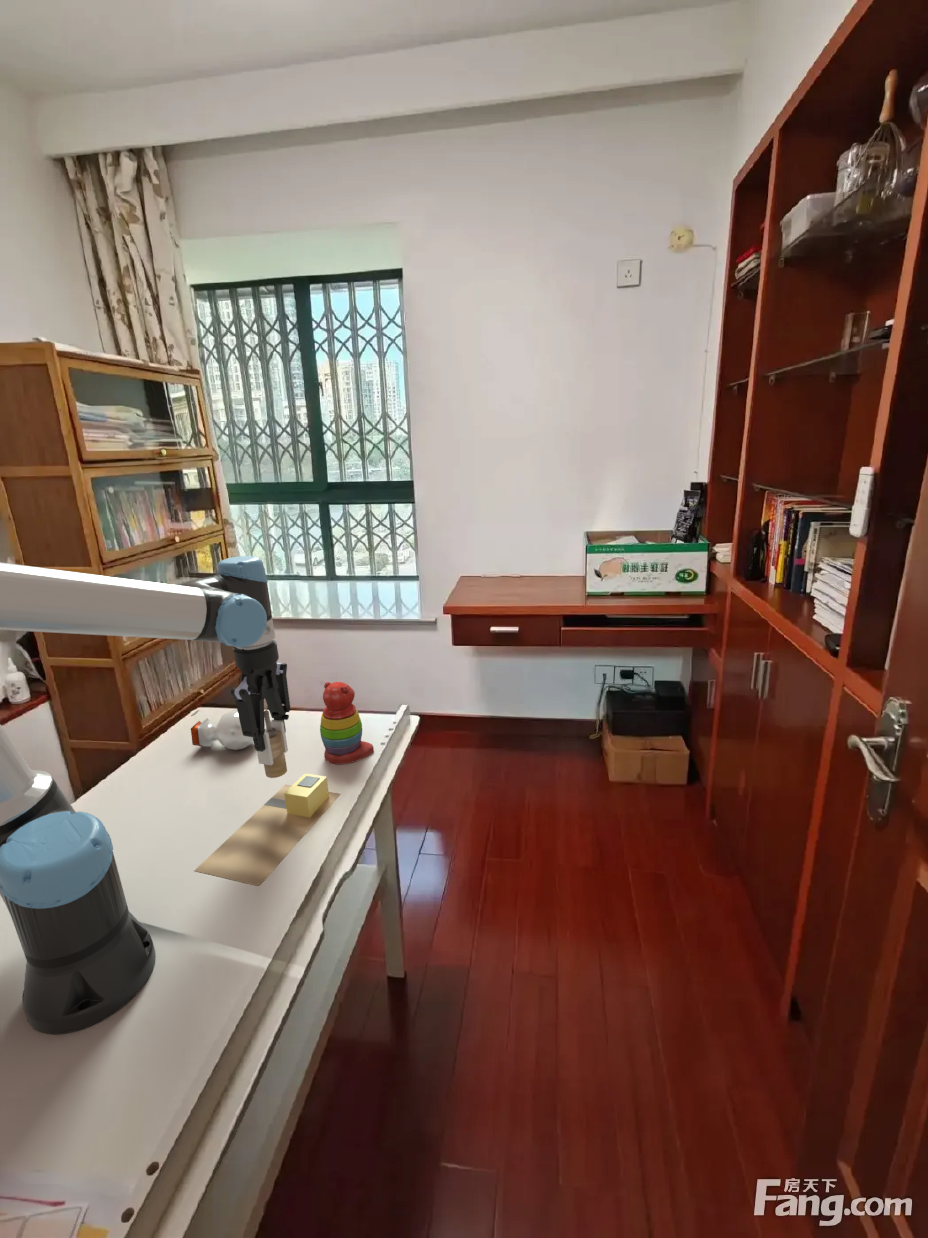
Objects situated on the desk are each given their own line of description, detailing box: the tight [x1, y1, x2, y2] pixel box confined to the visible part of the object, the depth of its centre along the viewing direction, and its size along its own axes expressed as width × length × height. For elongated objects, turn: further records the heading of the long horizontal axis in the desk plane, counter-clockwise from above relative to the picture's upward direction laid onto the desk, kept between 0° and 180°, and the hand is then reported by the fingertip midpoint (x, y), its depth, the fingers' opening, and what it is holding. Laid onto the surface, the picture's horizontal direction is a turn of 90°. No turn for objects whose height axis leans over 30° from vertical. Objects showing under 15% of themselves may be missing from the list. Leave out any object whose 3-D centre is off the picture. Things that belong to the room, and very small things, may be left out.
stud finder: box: [284, 773, 330, 818], centre depth 113 cm, size 7×5×5 cm
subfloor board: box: [194, 784, 341, 887], centre depth 107 cm, size 26×18×1 cm
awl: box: [263, 709, 288, 779], centre depth 110 cm, size 4×4×13 cm
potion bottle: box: [190, 709, 258, 751], centre depth 138 cm, size 9×10×15 cm
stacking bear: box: [319, 681, 375, 765], centre depth 131 cm, size 11×10×18 cm
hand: (273, 756), depth 111 cm, fingers closed on awl, 4 cm apart
